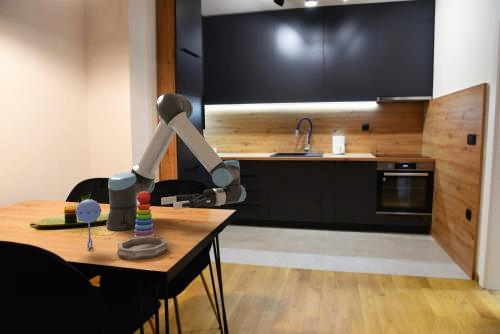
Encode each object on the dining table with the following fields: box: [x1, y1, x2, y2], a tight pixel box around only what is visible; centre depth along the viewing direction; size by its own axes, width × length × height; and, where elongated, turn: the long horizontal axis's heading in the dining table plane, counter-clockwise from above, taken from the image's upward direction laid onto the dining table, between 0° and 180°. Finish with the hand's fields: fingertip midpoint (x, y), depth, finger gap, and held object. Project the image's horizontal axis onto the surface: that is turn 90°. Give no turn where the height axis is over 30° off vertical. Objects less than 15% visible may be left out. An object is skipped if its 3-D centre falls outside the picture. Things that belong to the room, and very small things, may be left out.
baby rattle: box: [75, 198, 102, 250], centre depth 135 cm, size 9×9×18 cm
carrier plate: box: [116, 236, 168, 261], centre depth 131 cm, size 17×17×3 cm
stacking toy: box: [133, 191, 156, 238], centre depth 147 cm, size 8×8×19 cm
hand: (167, 203), depth 152 cm, fingers open, 13 cm apart
